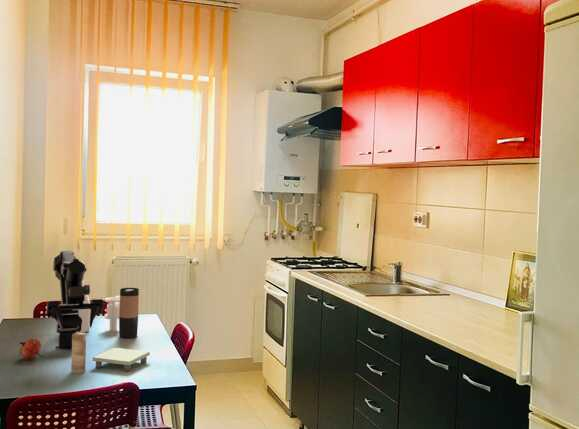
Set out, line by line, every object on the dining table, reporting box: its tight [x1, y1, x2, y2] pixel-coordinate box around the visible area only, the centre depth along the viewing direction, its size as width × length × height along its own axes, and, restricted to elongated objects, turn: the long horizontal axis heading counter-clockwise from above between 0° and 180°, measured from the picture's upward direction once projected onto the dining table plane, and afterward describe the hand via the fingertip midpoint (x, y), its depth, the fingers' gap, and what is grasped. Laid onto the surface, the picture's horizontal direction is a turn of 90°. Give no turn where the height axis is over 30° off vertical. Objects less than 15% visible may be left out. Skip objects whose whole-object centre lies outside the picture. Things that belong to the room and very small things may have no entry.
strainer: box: [104, 295, 120, 332], centre depth 262 cm, size 7×7×15 cm
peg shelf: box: [92, 347, 151, 373], centre depth 210 cm, size 14×14×4 cm
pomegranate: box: [19, 338, 44, 361], centre depth 214 cm, size 7×7×10 cm
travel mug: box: [118, 287, 140, 340], centre depth 251 cm, size 8×8×20 cm
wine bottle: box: [76, 260, 91, 333], centre depth 257 cm, size 10×10×30 cm
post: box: [70, 332, 87, 374], centre depth 201 cm, size 4×4×12 cm
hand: (76, 327), depth 207 cm, fingers open, 9 cm apart
